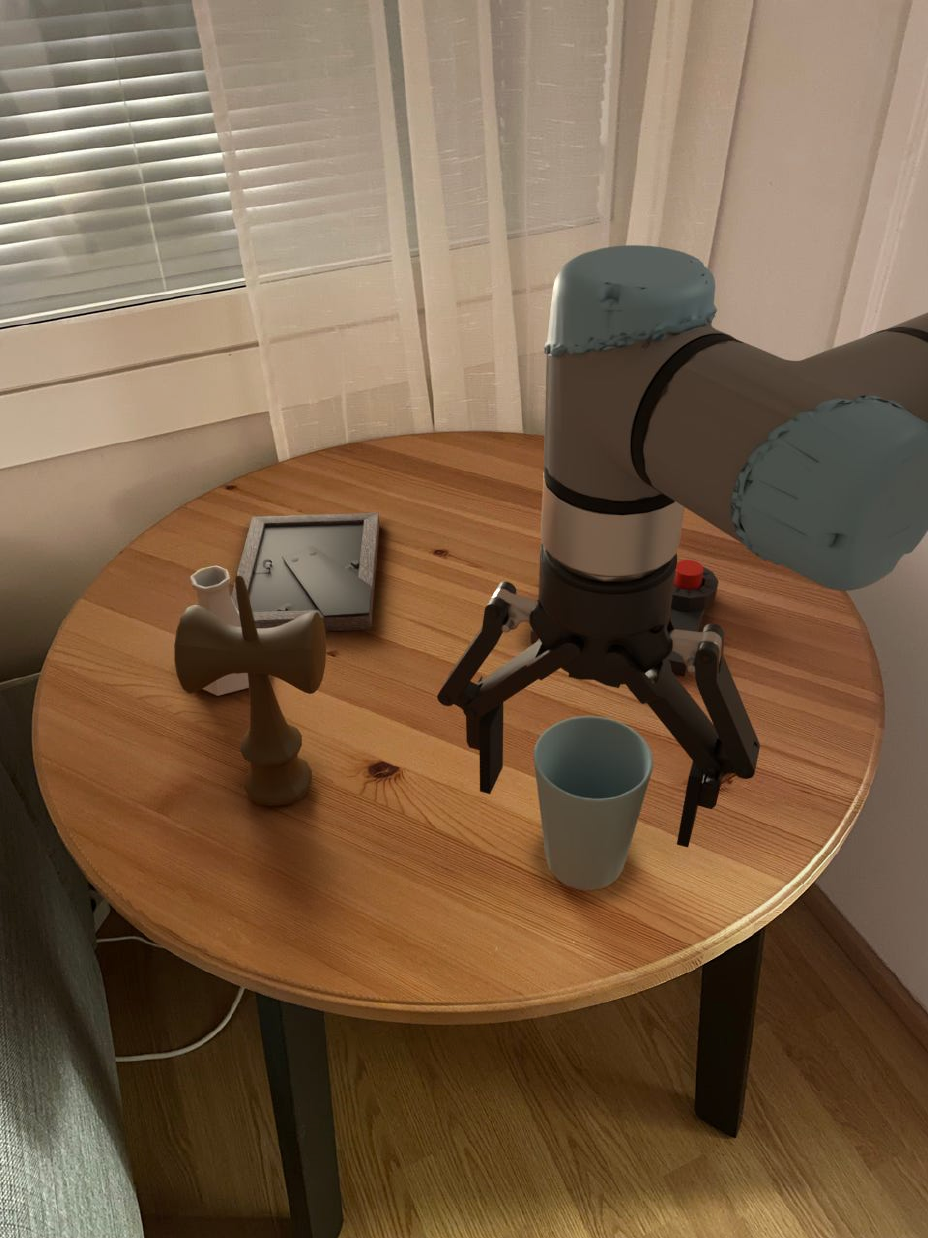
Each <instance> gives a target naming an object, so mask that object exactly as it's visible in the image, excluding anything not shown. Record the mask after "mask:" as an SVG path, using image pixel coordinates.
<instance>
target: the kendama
mask: <svg viewBox="0 0 928 1238" xmlns="http://www.w3.org/2000/svg"><path fill="white" fill-rule="evenodd" d="M234 583H235V589H236V597H237V603H238V610H239V616H240V622H241V627H235V626H232V625H230V624H228V623H226V622H224V621H223V620H221V619H220V618H218V617H217V616H215V615H214V614H212V613H211V612H209V611H208V610H206V609H205V608H203V607H201V606H199V605H198V604H193V605H189V606H188V607H186V609H185V611H184V612H183V614H181V616H180V618H179V621H178V624H177V627H176V629H175V638H174V644H173V648H174V649H173V657H174V658H173V660H174V667H175V674H176V677H177V679H178V682H179V684H180V686H181V688H182V690H184V692H186V693H187V694H190V695H193V694H195V693H198V692H199V691H201V690H203V688H204V687H206V686H208V685H209V684H211V683H213V682H215V681H216V680H218V679H220V678H222V677H224V676H226V675H229V674H234V673H236V674H240V673H248V683H249V688H248V694H249V695H248V696H249V697H248V698H249V730H248V731H247V732H245V734H244V736H243V738H242V739H241V741H240V747H239V751H240V754H241V756H242V757H243V759H244V760H245V761H246V762H248V763H249V764H250V768H249V770H248V772H247V773H246V775H245V779H244V790H245V792H246V795H247V797H248V799H250V800H251V801H252V802H255V803H256V804H258V805H262V806H266V807H267V806H269V807H279V806H288V805H290V804H292V803H295V802H298V801H299V800H300V799H301V798H303V797H304V796H305V795H306V794H307V793H308V792H309V789H310V788H311V785H312V782H313V779H312V778H313V770H312V769H311V766H310V764H309V763H308V762H307V761H306V760H305V759H302V758H300V757H299V756H298V754H299V752H300V750H301V748H302V746H303V736H302V734H301V732H300V730H299V728H297V727H296V726H293V725H291V724H289V723H288V722H287V720H286V718H285V716H284V714H283V711H282V709H281V706H280V704H279V701H278V699H277V696H276V694H275V690H274V687H273V685H272V682H271V678H270V677H274V678H276V679H279V680H281V681H283V682H285V683H287V684H288V685H290V686H292V687H294V688H296V689H297V690H299V691H301V692H303V693H305V694H308V695H311V694H315V693H316V692H317V691H318V690H319V688H320V687H321V684H322V682H323V680H324V673H325V670H326V669H325V668H326V659H327V637H326V631H325V628H324V624H323V620H322V618H321V617H320V615H319V613H318V612H316V611H312V612H309V613H306V614H304V615H302V616H300V617H298V618H296V619H294V620H292V621H290V622H288V623H285V624H283V625H281V626H277V627H273V628H262V629H258V628H256V625H255V620H254V616H253V612H252V607H251V603H250V599H249V595H248V591H247V587H246V584H245V581H244V579H243V577H242V576H241V575H237V574H236V575H235V579H234Z"/></svg>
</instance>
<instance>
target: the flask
mask: <svg viewBox="0 0 928 1238" xmlns="http://www.w3.org/2000/svg"><path fill="white" fill-rule="evenodd" d="M189 578H190V579H189V580H190V582H191V585H192V588H193V589H194V591H196V593H197V605H199V606H201V607H203V608H205V609H206V610H208V611H209V612H211V613H212V614H214V615H215V616H217V617H218V618H220V619H221V620H223V621H224V622H226V623H228V624H230V625H232V626H235V627H241V622H240V616H239V611H238V610H237V608H236V607H235V605H234V602H233V600H232V598H231V592H230V587H229V585H230V584H231V583H232V580H231V576H230V573H229V570H228V569H226V568H224V567H221V566H218V565H212V566H208V567H203V568H200V569H199V570H197V571H195V573H193V574H192V575H190V576H189ZM245 689H249V683H248V673H240V674H236V673H234V674H229V675H226V676H224V677H222V678H220V679H218V680H216V681H215V682H213V683H211V684H209V685H208V686H206V687H204V688H203V689H202V690H203V691H206V692H208V693H210V694H213V695H215V696H217V697H218V696H222V695H225V694H226V695H227V694H230V693H234V692H238V691H241V690H245Z"/></svg>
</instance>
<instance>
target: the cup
mask: <svg viewBox="0 0 928 1238" xmlns="http://www.w3.org/2000/svg"><path fill="white" fill-rule="evenodd" d="M533 764H534V773H535V780H536V781H535V782H536V787H537V789H536V790H537V796H538V804H539V813H540V821H541V828H542V829H541V831H542V837H543V844H544V845H543V846H544V853H545V860H546V864H547V867H548V869H549V871H550V873H551V874H552V876H553V877H554V878H556V880H558V881H559V882H560V883H561V884H563V885H564V886H567V887H569V888H572V889H574V890H578V891H596V890H602V889H605V888H607V887H609V886H610V885H612V884H614V883H615V882H616V881H617V880H618V878H619V877H620V875H621V874H622V872H623V870H624V868H625V865H626V861H627V858H628V855H629V851H630V848H631V844H632V841H633V837H634V834H635V831H636V827H637V824H638V821H639V818H640V813H641V810H642V807H643V804H644V800H645V796H646V793H647V790H648V786H649V784H650V778H651V776H652V773H653V770H654V758H653V753H652V750H651V748H650V746H649V744H648V743H647V740H645V739H644V737H643V736H642V735H641V734H640V733H638V731H636V730H635V729H633V728H632V727H630V726H628V725H627V724H625V723H623V722H620V721H618V720H615V719H612V718H609V717H603V716H596V715H583V716H574V717H569V718H566V719H563V720H560V721H558V722H556V723H554V724H553V725H551V726H549V727H548V728H547V729H546V730H544V732H543V733H542V734H541V735H540V736H539V737H538V739H537V741H536V743H535V746H534V749H533Z"/></svg>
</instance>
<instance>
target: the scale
mask: <svg viewBox="0 0 928 1238" xmlns="http://www.w3.org/2000/svg"><path fill="white" fill-rule="evenodd" d="M718 587H719V579H718V578H717V576H716V574H715V573H714V572H713V571H712V570H710V569H708V568H707V567H705V566H703V576H702V583H701V586H700V587H699V588H698V589H694V590H685V589H680V588H678V587H676V586H675V585H674V588H673V595H672V602H671V609H670V618H671V621H672V623H673V625H674V627H675V629H678V630H686V631H695V632H700V628H701V625H702V621H703V618H704V615H705V611H706V610H707V608H709V607H710V606H712V605H714V604H715V602H716V598H717V593H718ZM538 640H539V638H538V636H537V635H536V634H535V632H534V631H533V629H532V628H531V630H530V644H534V643H536V642H537V641H538ZM667 658H668V660H669V662H670V664H671V670H672V672H673V673H674V675H680V676H686V674H687V672H688V671H687V669H686V667H687V666H686V665H685V664H684V661H683V659H682V657H681V656H680V655H679V654H677V653H674V652H671V653H670V655H669V656H668V657H667Z"/></svg>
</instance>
